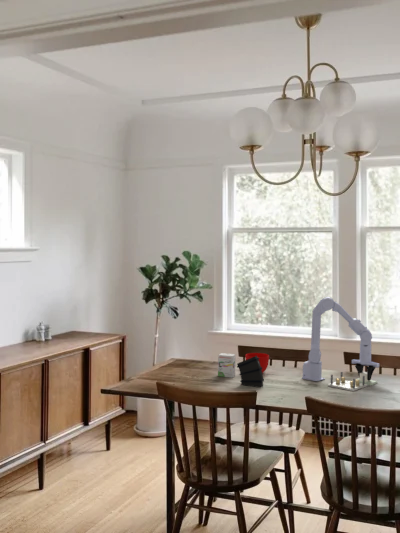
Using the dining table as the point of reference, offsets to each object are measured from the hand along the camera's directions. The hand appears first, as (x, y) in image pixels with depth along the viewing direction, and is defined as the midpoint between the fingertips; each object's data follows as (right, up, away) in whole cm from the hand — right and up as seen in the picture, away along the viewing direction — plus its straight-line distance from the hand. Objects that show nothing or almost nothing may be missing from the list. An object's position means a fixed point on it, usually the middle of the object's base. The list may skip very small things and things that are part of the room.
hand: (365, 379), depth 294 cm
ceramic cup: (-53, -1, +22) cm, 57 cm away
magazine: (-60, -2, -8) cm, 61 cm away
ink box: (-71, -1, +12) cm, 72 cm away
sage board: (0, -2, 0) cm, 2 cm away
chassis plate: (-11, -2, -9) cm, 14 cm away
